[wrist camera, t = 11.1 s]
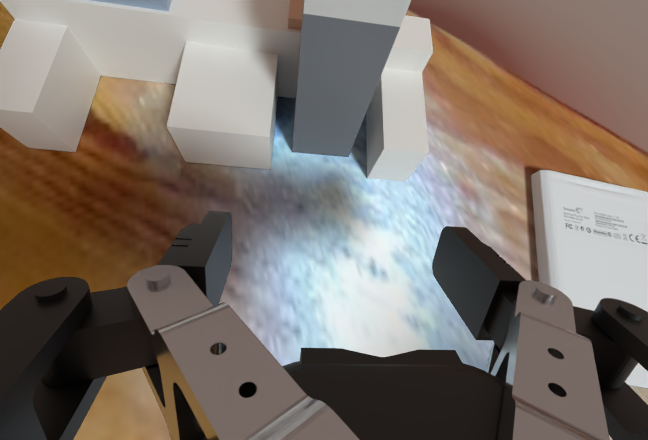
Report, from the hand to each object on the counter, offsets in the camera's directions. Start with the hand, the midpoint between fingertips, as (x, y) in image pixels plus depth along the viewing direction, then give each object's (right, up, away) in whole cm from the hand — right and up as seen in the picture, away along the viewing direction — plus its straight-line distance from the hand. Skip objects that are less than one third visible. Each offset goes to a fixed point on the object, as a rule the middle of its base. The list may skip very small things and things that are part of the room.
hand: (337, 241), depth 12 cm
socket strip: (-6, +8, +9) cm, 13 cm away
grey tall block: (-1, +7, +9) cm, 11 cm away
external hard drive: (+17, -3, +9) cm, 19 cm away
